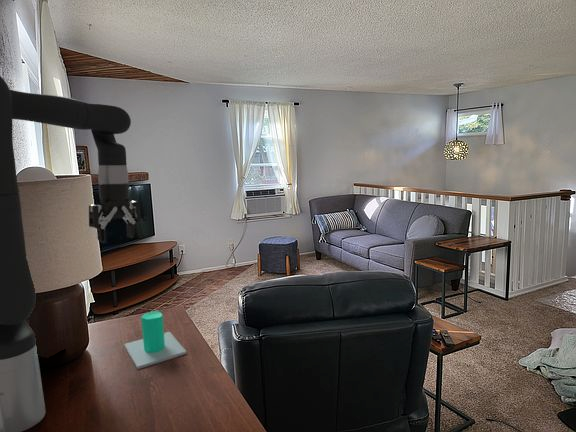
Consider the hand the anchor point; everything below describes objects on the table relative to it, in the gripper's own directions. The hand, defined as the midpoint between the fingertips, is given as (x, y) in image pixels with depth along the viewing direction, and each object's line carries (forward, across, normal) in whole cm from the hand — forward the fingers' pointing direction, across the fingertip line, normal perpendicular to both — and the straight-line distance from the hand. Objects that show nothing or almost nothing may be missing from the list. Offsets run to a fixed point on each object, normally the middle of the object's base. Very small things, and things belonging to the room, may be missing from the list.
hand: (117, 239), depth 108 cm
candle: (+34, -7, +5) cm, 35 cm away
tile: (+35, -8, +5) cm, 36 cm away
